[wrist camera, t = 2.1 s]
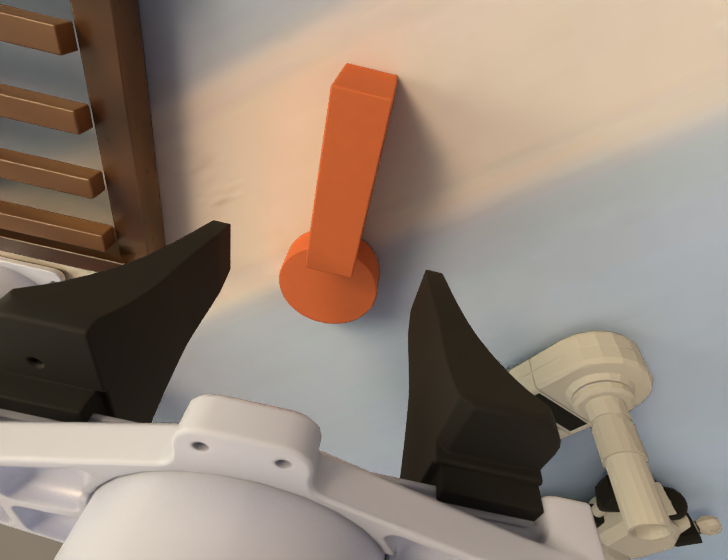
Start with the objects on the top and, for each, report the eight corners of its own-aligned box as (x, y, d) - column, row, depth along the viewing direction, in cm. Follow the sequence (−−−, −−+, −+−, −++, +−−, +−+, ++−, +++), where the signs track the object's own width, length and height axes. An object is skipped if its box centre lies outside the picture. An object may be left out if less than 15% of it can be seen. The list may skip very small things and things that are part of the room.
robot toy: (611, 430, 31) (469, 509, 38) (640, 490, 27) (477, 565, 35) (710, 490, 34) (562, 553, 42) (748, 551, 31) (579, 608, 38)
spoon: (309, 53, 17) (287, 73, 14) (434, 84, 17) (436, 110, 14) (283, 292, 25) (265, 335, 22) (368, 311, 25) (362, 356, 23)
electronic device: (415, 567, 24) (676, 491, 16) (418, 417, 32) (597, 309, 23) (482, 594, 26) (753, 538, 17) (470, 445, 33) (655, 354, 25)
